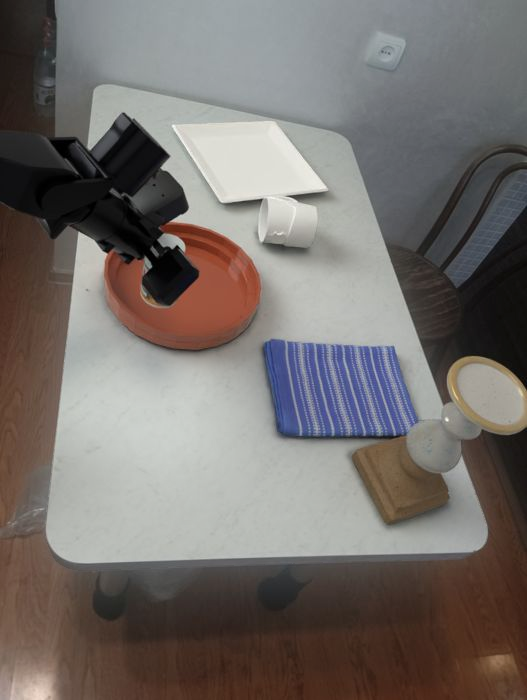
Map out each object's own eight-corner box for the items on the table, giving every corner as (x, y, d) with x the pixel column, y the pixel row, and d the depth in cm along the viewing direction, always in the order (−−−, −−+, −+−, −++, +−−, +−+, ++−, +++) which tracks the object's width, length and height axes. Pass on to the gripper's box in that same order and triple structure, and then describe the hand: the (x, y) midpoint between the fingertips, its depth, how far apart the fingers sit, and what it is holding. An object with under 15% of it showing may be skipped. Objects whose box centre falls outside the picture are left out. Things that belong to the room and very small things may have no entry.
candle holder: (408, 438, 83) (498, 345, 65) (446, 503, 78) (555, 422, 60) (349, 455, 79) (428, 360, 61) (385, 526, 73) (484, 445, 55)
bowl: (99, 347, 79) (100, 330, 76) (107, 232, 94) (107, 214, 91) (264, 355, 86) (270, 340, 83) (246, 246, 101) (251, 230, 98)
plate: (219, 210, 105) (221, 202, 104) (170, 132, 117) (171, 123, 116) (326, 197, 117) (330, 189, 116) (272, 127, 129) (274, 119, 128)
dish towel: (259, 344, 87) (263, 333, 85) (390, 350, 94) (397, 340, 92) (274, 439, 77) (280, 430, 75) (420, 439, 84) (428, 430, 82)
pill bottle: (149, 314, 77) (157, 263, 69) (133, 286, 79) (139, 234, 72) (185, 304, 80) (196, 255, 72) (168, 278, 82) (177, 227, 74)
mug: (307, 259, 103) (320, 227, 97) (259, 252, 101) (270, 219, 95) (300, 218, 110) (312, 186, 104) (255, 211, 108) (265, 178, 102)
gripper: (199, 216, 56) (254, 264, 71) (110, 117, 63) (177, 178, 77) (127, 291, 58) (195, 322, 72) (47, 186, 65) (124, 234, 79)
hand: (173, 260), depth 75 cm, fingers closed on pill bottle, 6 cm apart
